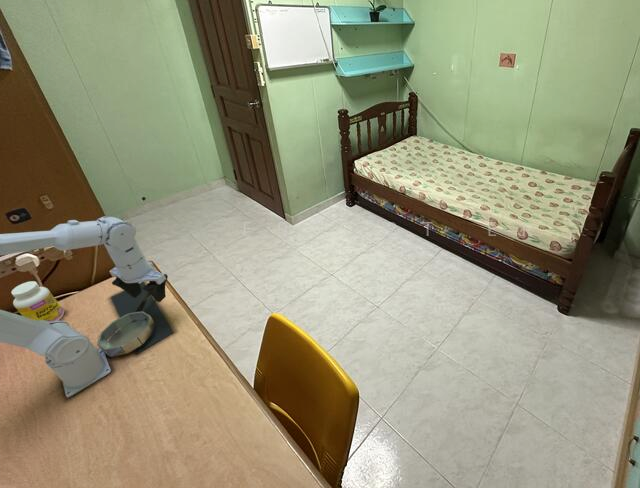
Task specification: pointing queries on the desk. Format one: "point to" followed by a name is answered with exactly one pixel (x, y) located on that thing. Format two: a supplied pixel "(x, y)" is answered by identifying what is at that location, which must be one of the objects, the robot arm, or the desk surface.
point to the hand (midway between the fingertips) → (149, 297)
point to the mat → (130, 305)
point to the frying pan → (127, 332)
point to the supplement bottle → (36, 302)
